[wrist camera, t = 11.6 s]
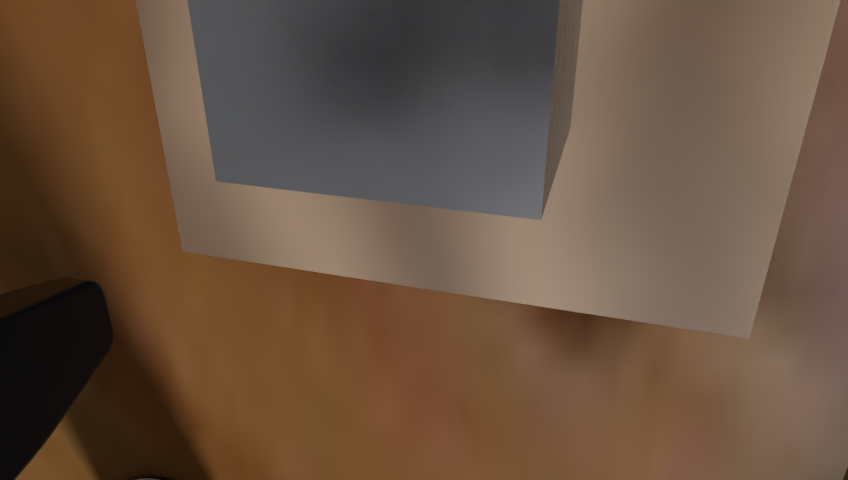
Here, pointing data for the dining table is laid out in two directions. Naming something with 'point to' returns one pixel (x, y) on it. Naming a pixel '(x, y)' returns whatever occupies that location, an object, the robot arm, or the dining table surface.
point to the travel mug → (147, 479)
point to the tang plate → (561, 173)
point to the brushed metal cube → (391, 97)
